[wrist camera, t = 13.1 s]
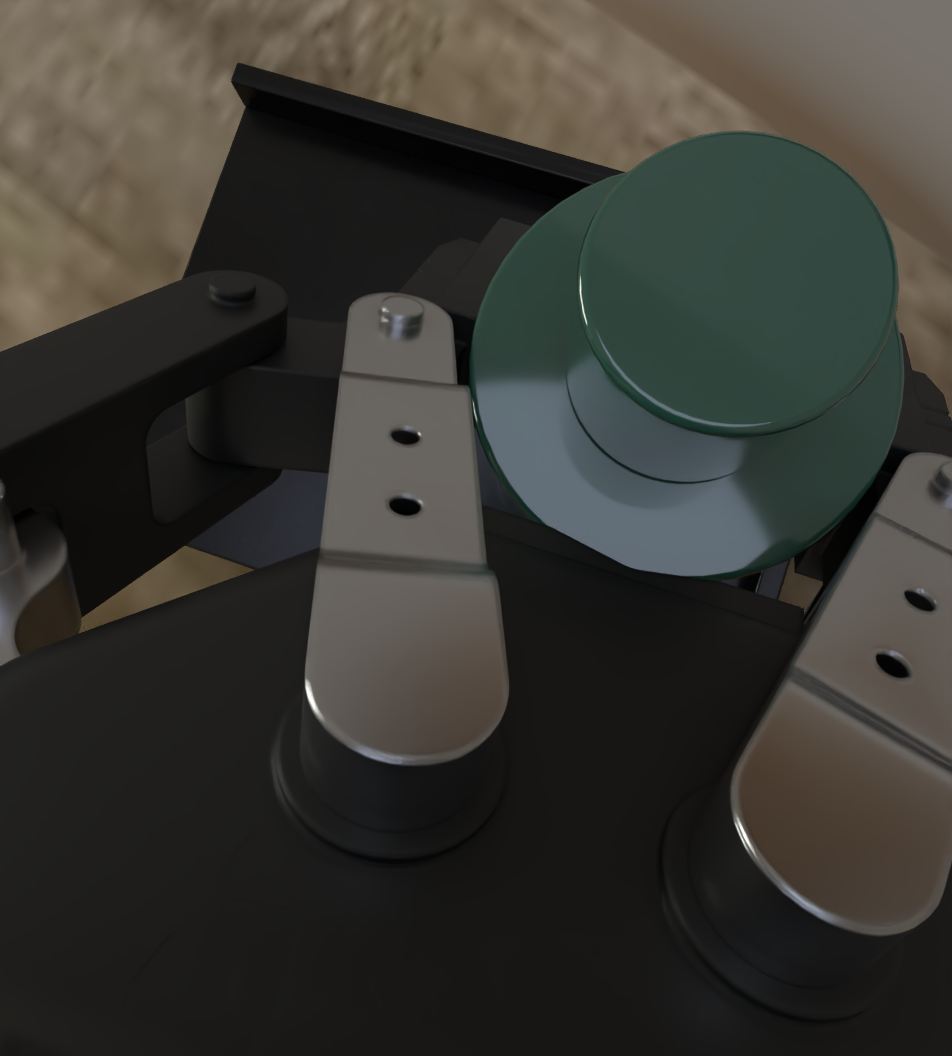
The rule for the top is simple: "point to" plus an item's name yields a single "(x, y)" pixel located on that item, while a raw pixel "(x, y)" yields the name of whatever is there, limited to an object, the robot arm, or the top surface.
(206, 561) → the top surface
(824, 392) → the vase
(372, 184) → the black rectangular case
